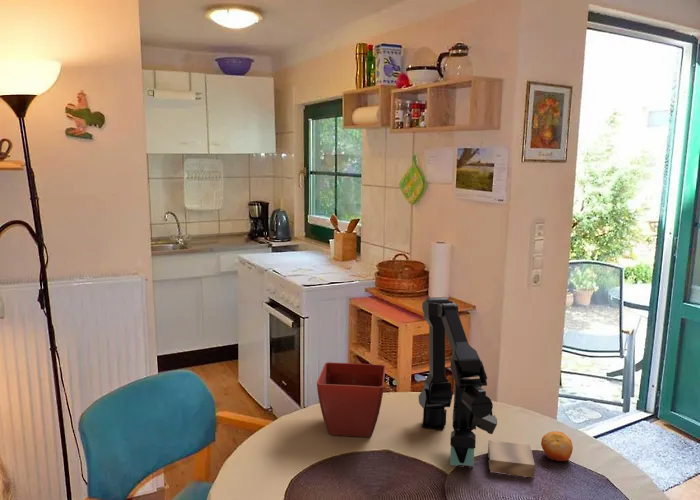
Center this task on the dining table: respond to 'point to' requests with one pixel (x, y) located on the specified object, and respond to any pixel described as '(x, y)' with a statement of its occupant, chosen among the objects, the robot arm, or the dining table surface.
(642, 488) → the dining table surface
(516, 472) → the light tan wooden block
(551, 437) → the fruit
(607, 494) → the dining table surface
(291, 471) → the dining table surface
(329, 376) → the plant pot
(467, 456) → the teal cube
